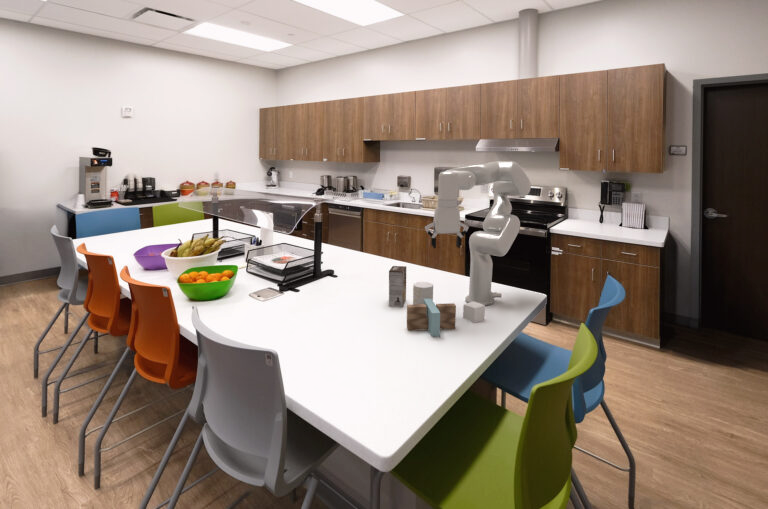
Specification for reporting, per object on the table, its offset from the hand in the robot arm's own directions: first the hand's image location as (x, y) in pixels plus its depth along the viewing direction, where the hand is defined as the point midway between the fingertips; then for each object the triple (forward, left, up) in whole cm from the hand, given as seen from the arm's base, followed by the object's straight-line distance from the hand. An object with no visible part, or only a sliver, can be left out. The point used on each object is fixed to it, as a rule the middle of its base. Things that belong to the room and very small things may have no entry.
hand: (446, 247), depth 175 cm
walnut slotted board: (+8, +13, -28) cm, 32 cm away
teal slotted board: (+8, +13, -28) cm, 32 cm away
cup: (+8, -4, -28) cm, 30 cm away
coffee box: (+17, -16, -28) cm, 37 cm away
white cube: (-11, +5, -29) cm, 31 cm away
